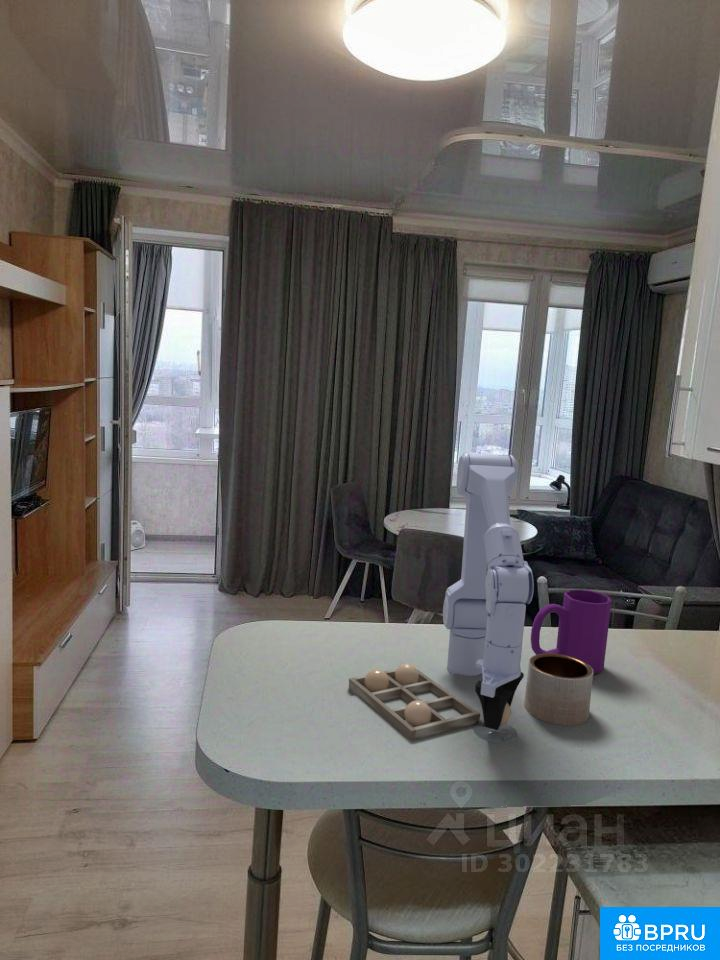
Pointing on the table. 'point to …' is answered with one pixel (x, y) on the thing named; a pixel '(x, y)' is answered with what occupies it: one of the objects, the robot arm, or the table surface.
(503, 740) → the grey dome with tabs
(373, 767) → the table surface
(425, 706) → the egg
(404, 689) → the carton
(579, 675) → the planter
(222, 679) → the table surface
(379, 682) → the egg
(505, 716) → the egg loose
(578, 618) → the mug
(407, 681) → the egg
